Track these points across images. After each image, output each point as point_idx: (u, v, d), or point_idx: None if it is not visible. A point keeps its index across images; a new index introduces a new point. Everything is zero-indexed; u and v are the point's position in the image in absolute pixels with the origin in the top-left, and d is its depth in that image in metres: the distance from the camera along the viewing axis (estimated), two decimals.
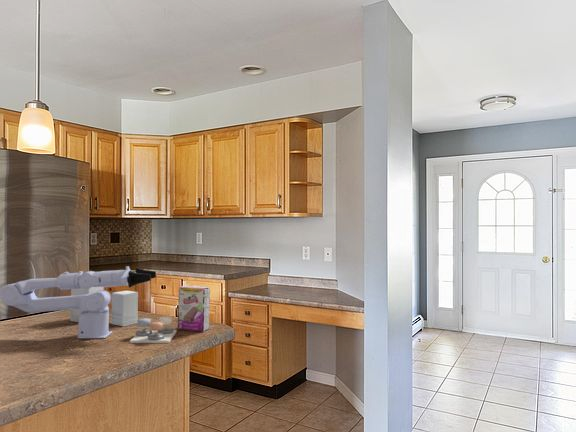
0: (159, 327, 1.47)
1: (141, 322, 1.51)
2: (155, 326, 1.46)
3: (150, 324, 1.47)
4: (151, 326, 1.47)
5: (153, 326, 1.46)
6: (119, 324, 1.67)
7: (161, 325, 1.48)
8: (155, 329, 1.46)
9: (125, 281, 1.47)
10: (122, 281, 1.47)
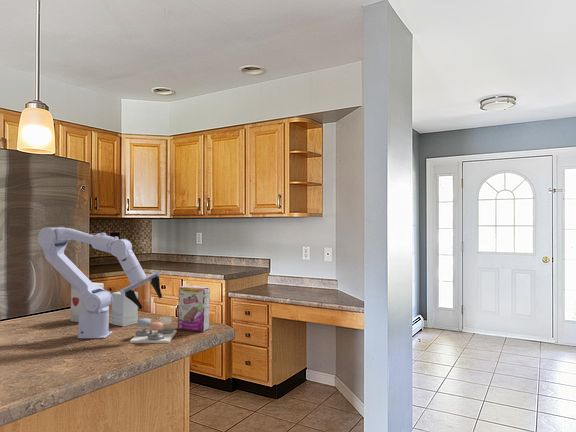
0: (159, 327, 1.47)
1: (141, 322, 1.51)
2: (155, 326, 1.46)
3: (150, 324, 1.47)
4: (151, 326, 1.47)
5: (153, 326, 1.46)
6: (119, 324, 1.67)
7: (161, 325, 1.48)
8: (155, 329, 1.46)
9: (121, 294, 1.48)
10: (120, 292, 1.48)
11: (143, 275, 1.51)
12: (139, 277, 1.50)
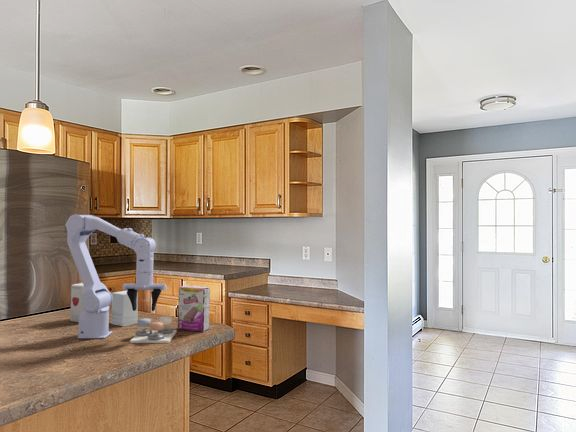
0: (159, 327, 1.47)
1: (141, 322, 1.51)
2: (155, 326, 1.46)
3: (150, 324, 1.47)
4: (151, 326, 1.47)
5: (153, 326, 1.46)
6: (119, 324, 1.67)
7: (161, 325, 1.48)
8: (155, 329, 1.46)
9: None
10: None
11: (147, 283, 1.49)
12: (142, 283, 1.48)
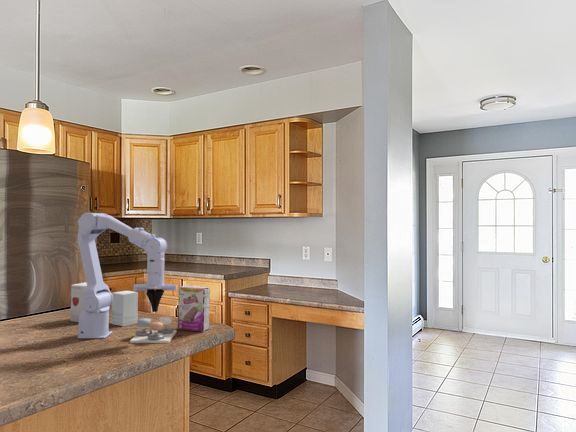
0: (159, 327, 1.47)
1: (141, 322, 1.51)
2: (155, 326, 1.46)
3: (150, 324, 1.47)
4: (151, 326, 1.47)
5: (153, 326, 1.46)
6: (119, 324, 1.67)
7: (161, 325, 1.48)
8: (155, 329, 1.46)
9: None
10: None
11: (158, 283, 1.47)
12: (153, 284, 1.46)
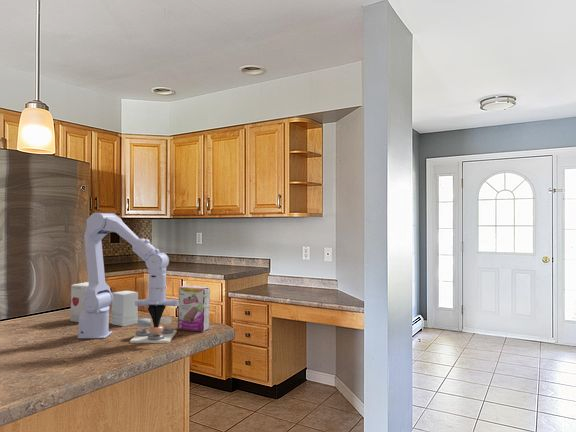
0: (159, 330, 1.47)
1: (141, 322, 1.51)
2: (155, 330, 1.46)
3: (150, 327, 1.47)
4: (151, 330, 1.47)
5: (153, 329, 1.46)
6: (119, 324, 1.67)
7: (161, 328, 1.48)
8: (155, 333, 1.46)
9: None
10: None
11: (160, 299, 1.46)
12: (155, 299, 1.46)
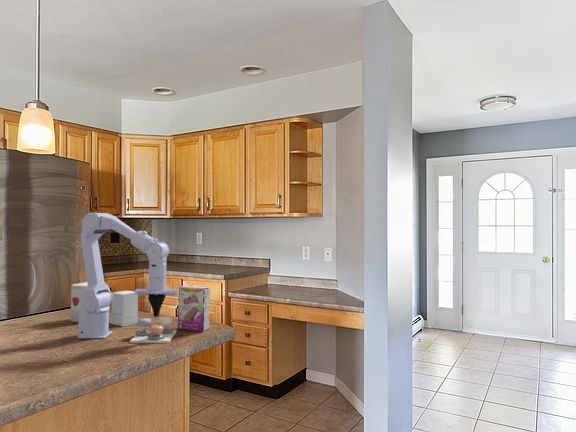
0: (159, 331, 1.47)
1: (141, 322, 1.51)
2: (155, 330, 1.46)
3: (150, 328, 1.47)
4: (151, 330, 1.47)
5: (153, 329, 1.46)
6: (119, 324, 1.67)
7: (161, 328, 1.48)
8: (155, 333, 1.46)
9: None
10: None
11: (160, 288, 1.47)
12: (155, 289, 1.46)
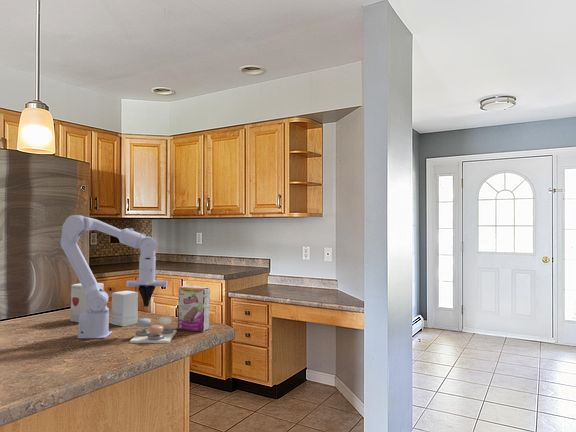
0: (159, 331, 1.47)
1: (141, 322, 1.51)
2: (155, 330, 1.46)
3: (150, 328, 1.47)
4: (151, 330, 1.47)
5: (153, 329, 1.46)
6: (119, 324, 1.67)
7: (161, 328, 1.48)
8: (155, 333, 1.46)
9: None
10: None
11: (150, 280, 1.56)
12: (145, 280, 1.55)
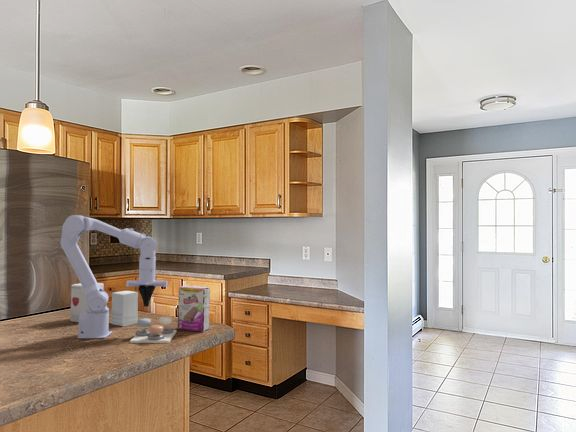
0: (159, 331, 1.47)
1: (141, 322, 1.51)
2: (155, 330, 1.46)
3: (150, 328, 1.47)
4: (151, 330, 1.47)
5: (153, 329, 1.46)
6: (119, 324, 1.67)
7: (161, 328, 1.48)
8: (155, 333, 1.46)
9: None
10: None
11: (150, 280, 1.56)
12: (145, 280, 1.55)
